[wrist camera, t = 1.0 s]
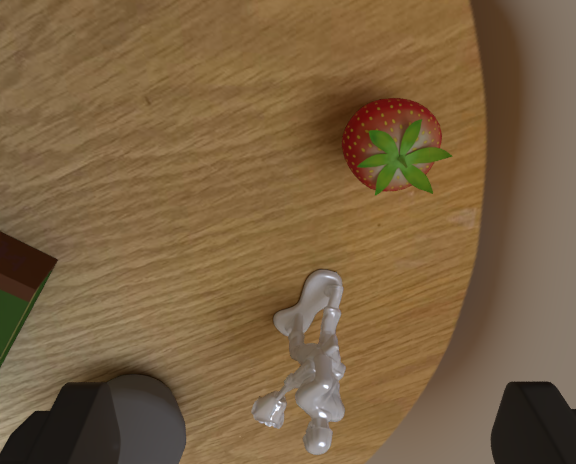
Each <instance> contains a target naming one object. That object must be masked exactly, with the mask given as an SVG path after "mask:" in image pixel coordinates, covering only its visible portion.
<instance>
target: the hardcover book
mask: <svg viewBox="0 0 576 464" xmlns="http://www.w3.org/2000/svg"><path fill="white" fill-rule="evenodd" d="M57 261H58V260H57V259H55V258H53V257H51V256H49V255H47V254H45V253H43V252H41V251H39V250H37V249H35V248H32V247H30V246H28V245H26V244H24V243H22V242H20V241H18V240H16V239H14V238H12V237H10V236H8V235H6V234H4V233H2V232H0V367H1V365H2V363H3V361H4V359H5V358H6V356H7V354H8V352H9V350H10V348H11V346H12V345H13V343H14V341H15V339H16V337H17V335H18V333H19V332H20V330H21V328H22V326H23V324H24V322H25V320H26V318H27V317H28V315H29V313H30V311H31V309H32V307H33V305H34V304H35V302H36V300H37V298H38V296H39V294H40V292H41V291H42V289H43V287H44V285H45V283H46V281H47V279H48V277H49V276H50V274H51V272H52V270H53V268H54V266H55V264H56V263H57Z"/></svg>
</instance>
